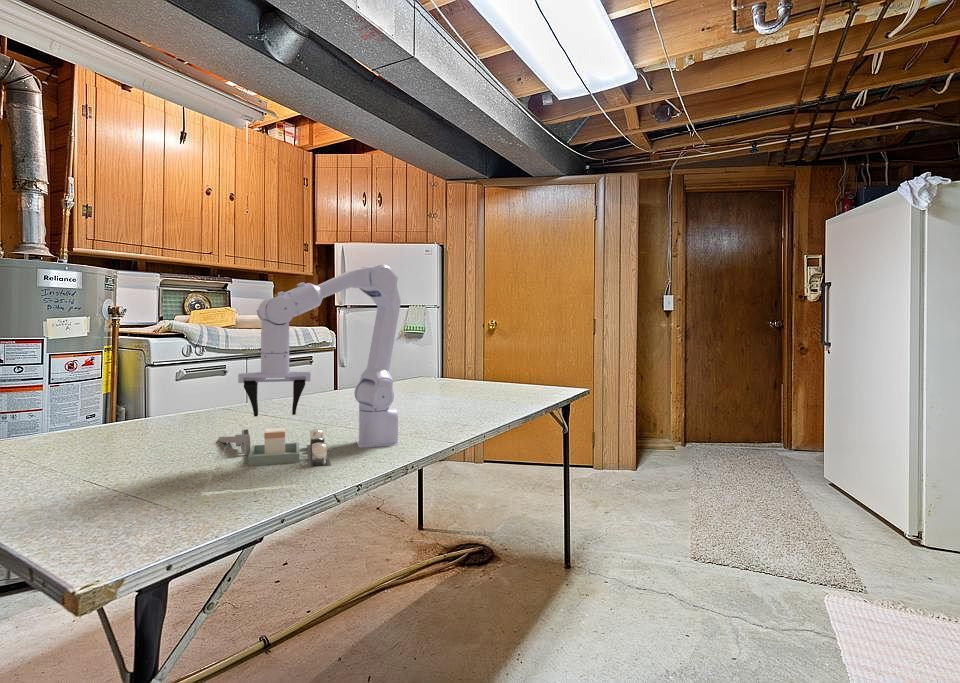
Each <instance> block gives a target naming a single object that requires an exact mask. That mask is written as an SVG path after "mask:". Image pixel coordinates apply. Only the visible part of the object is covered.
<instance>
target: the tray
mask: <svg viewBox="0 0 960 683" xmlns="http://www.w3.org/2000/svg"><path fill="white" fill-rule="evenodd" d="M300 454H301V453H300V442H285V454H273V455H265V444H254V445H252V444H251V446H250V453H249V455H247V456H248V457H247V458H248V460H247V461H248V462H247V465H248V466H249V467H251V466H261V465H262V466H263V465H275V464H276V465H277V464H287V463H289V464H290V463H291V464H292V463H300V458H301V457H300Z"/></svg>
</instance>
